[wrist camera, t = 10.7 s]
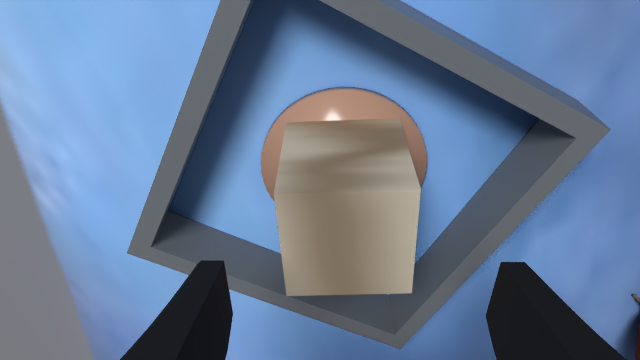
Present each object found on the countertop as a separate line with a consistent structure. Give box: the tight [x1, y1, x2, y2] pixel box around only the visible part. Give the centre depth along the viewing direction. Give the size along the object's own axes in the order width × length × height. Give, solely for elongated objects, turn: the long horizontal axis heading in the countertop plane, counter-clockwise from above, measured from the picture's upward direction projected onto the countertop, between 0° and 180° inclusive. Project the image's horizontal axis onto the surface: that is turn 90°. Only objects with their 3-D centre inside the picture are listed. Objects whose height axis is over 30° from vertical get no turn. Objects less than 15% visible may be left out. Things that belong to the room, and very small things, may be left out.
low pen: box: [127, 0, 611, 349], centre depth 19 cm, size 14×14×2 cm
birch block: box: [274, 118, 421, 296], centre depth 17 cm, size 4×4×5 cm
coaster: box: [261, 87, 427, 202], centre depth 20 cm, size 7×7×1 cm
